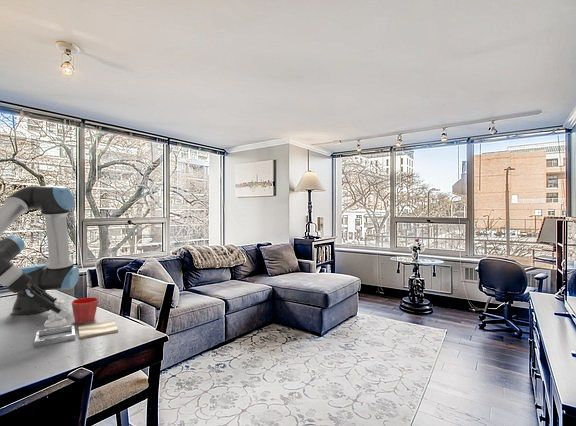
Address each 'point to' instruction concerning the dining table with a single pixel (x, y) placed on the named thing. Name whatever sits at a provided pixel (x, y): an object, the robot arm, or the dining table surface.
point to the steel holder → (54, 339)
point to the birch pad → (97, 329)
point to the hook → (55, 318)
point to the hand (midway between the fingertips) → (66, 314)
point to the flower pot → (84, 309)
